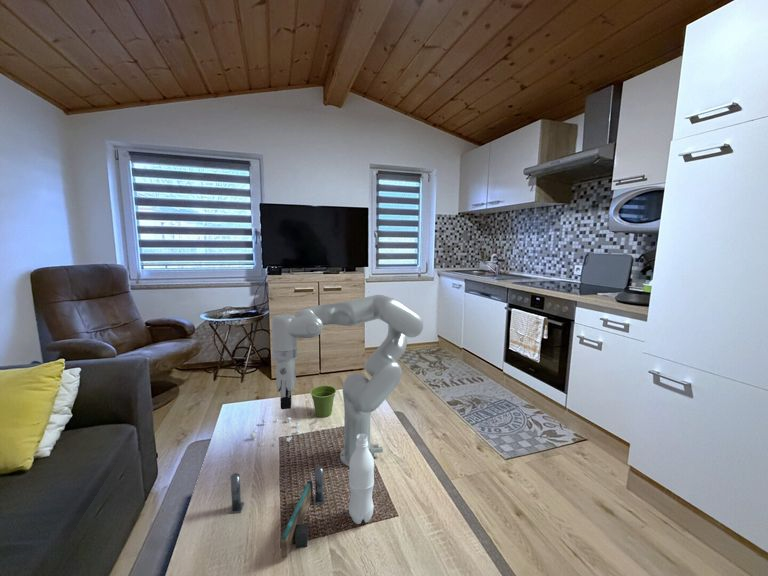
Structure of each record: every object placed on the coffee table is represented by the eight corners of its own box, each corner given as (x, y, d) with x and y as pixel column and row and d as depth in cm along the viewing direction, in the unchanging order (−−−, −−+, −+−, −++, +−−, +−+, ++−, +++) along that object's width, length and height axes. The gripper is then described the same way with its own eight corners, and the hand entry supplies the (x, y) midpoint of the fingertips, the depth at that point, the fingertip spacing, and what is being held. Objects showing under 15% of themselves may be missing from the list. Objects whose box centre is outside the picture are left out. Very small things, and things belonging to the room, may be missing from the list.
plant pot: (309, 409, 155) (309, 386, 153) (334, 406, 158) (334, 384, 157) (311, 422, 144) (311, 398, 142) (338, 418, 147) (338, 395, 146)
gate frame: (324, 495, 102) (324, 464, 100) (323, 544, 85) (323, 508, 84) (232, 505, 97) (231, 472, 96) (212, 559, 81) (210, 520, 79)
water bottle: (360, 503, 99) (361, 426, 96) (378, 515, 95) (380, 435, 91) (343, 517, 94) (343, 437, 90) (361, 532, 89) (362, 447, 86)
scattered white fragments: (248, 451, 123) (248, 442, 122) (254, 424, 142) (253, 415, 141) (301, 444, 128) (301, 435, 128) (299, 418, 147) (299, 410, 147)
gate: (308, 496, 100) (308, 478, 100) (313, 496, 100) (313, 479, 99) (281, 556, 81) (280, 535, 80) (287, 557, 81) (286, 536, 80)
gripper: (294, 361, 97) (295, 419, 99) (299, 346, 111) (300, 396, 114) (268, 362, 95) (269, 420, 98) (276, 346, 110) (277, 398, 112)
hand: (286, 407), depth 106 cm, fingers closed
